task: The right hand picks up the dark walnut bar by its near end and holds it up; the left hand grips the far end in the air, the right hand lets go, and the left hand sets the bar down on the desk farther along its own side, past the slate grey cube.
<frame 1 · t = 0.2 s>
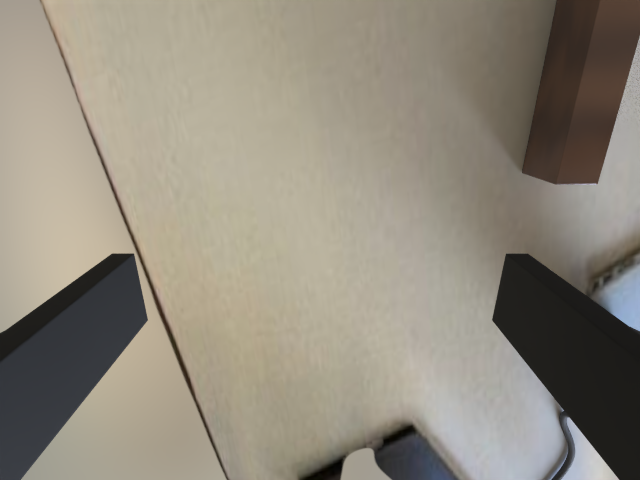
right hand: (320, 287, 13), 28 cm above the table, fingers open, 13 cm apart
walnut bar: (566, 50, 35), on the table
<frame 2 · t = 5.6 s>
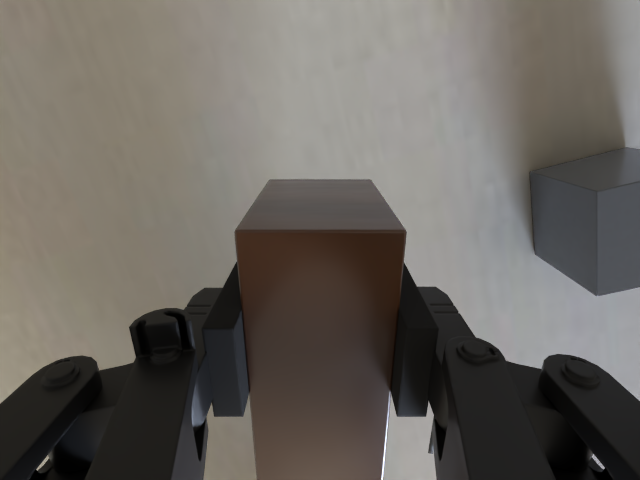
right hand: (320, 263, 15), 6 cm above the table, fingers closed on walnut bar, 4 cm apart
slate cube: (578, 203, 20), on the table
walnut bar: (319, 412, 18), point 5 cm above the table, touching right hand
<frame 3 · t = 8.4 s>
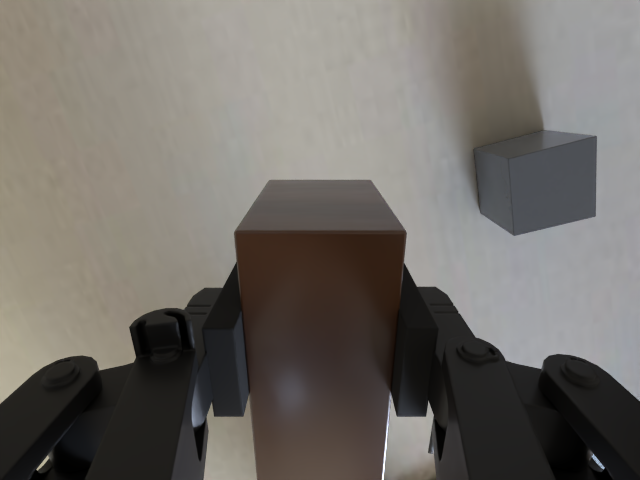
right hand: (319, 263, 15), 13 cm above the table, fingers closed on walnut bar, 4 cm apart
slate cube: (511, 173, 26), on the table
walnut bar: (320, 413, 18), point 12 cm above the table, touching right hand
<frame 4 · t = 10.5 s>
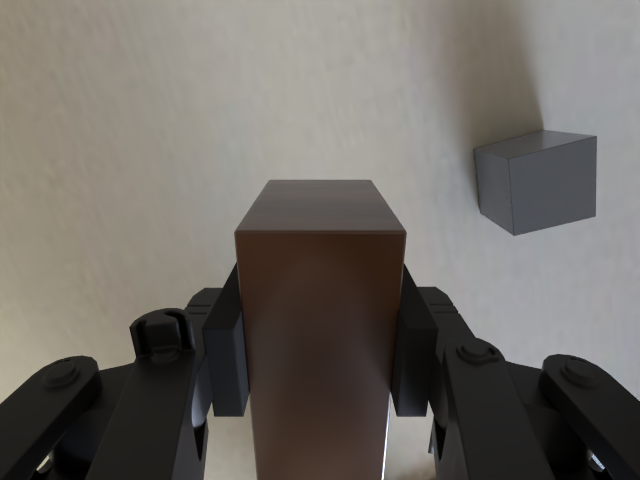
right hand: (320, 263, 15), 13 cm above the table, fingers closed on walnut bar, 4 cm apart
slate cube: (511, 173, 26), on the table
walnut bar: (319, 413, 18), point 12 cm above the table, touching right hand, left hand
when the right hand's fingers open (13 cm above the table, at t = 11.4 s): walnut bar stays where it is, held by the left hand.
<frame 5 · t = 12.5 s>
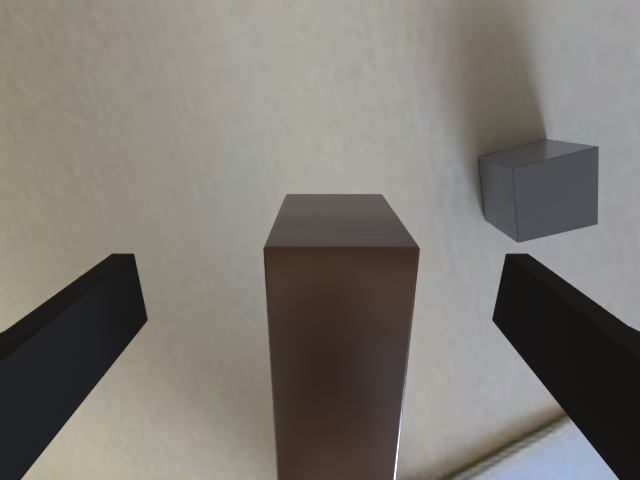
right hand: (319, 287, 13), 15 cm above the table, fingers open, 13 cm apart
slate cube: (514, 181, 26), on the table
walnut bar: (330, 415, 19), point 12 cm above the table, touching left hand
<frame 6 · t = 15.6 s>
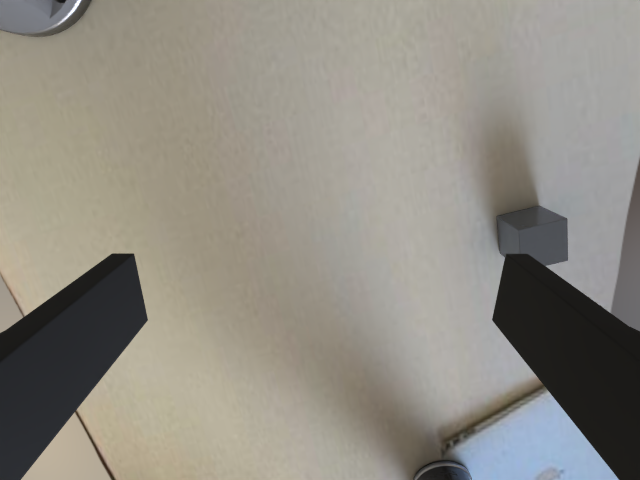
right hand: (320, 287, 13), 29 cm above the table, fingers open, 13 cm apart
slate cube: (519, 230, 42), on the table
when the left hand's fingers open (4 cm above the table, at t = 20.8 s): walnut bar stays where it is, on the table.
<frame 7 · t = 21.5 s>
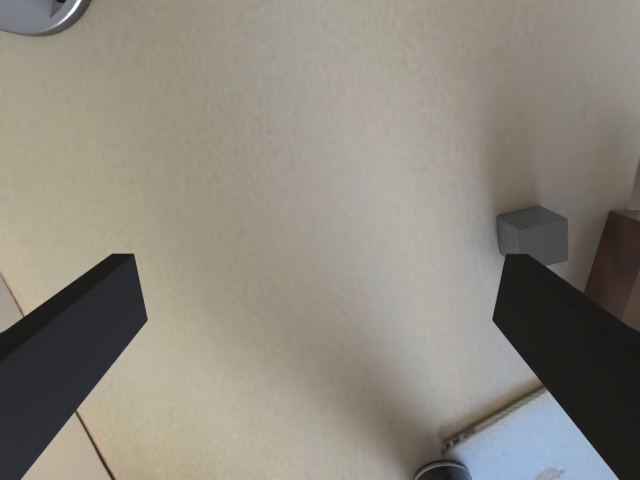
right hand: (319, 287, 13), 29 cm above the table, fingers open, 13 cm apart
slate cube: (519, 230, 42), on the table
walnut bar: (597, 299, 46), on the table
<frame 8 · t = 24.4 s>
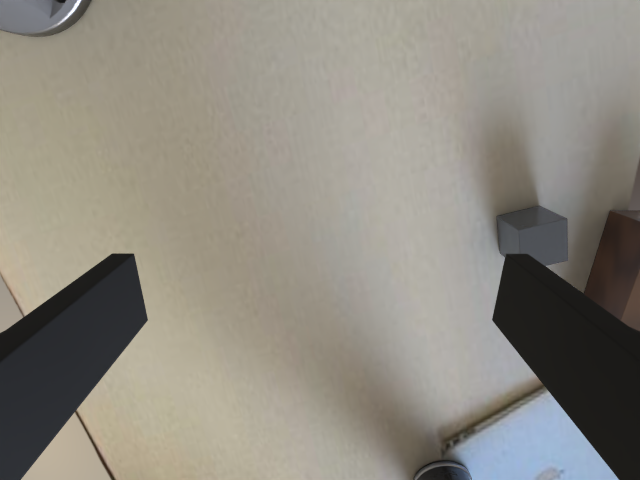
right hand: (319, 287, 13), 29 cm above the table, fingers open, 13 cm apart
slate cube: (519, 230, 42), on the table
walnut bar: (597, 299, 46), on the table
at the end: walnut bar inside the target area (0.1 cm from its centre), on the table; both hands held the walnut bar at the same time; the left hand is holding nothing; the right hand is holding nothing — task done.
